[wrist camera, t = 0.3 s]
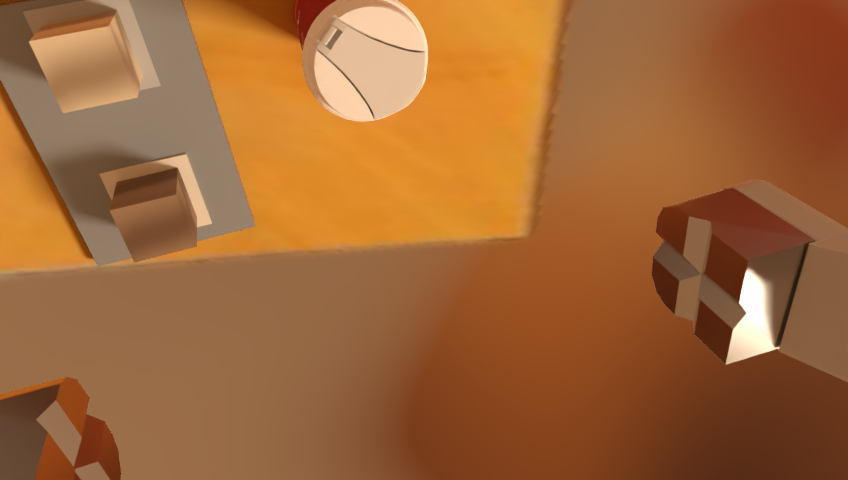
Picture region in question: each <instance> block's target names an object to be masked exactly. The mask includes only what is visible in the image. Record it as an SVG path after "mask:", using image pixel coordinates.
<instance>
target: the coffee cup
mask: <svg viewBox="0 0 848 480" xmlns="http://www.w3.org/2000/svg"><path fill="white" fill-rule="evenodd" d="M294 15H295V23H296V28H297V32H298V36H299V40H300V43H301V47H302V50H303V52H302V64H303V72H304V76H305V79H306V82H307V84H308V86H309V89H310V91H311V92H312V94H313V95H314V97H315V98H316V99H317V100H318V102H319V103H320V104H321V105H322V106H323V107H325V108H326V109H327V110H329V111H330V112H332V113H333V114H335V115H337V116H339V117H342V118H345V119H348V120H353V121H375V120H378V119H381V118H385V117H387V116H389V115H391V114H394V113H396V112H398V111H400V110H402V109H404V108H405V107H407V106H408V105H409V104H410V103H411V102H412V101H413V100H414V99H415V97H416V96H417V94H418V93H419V91H420V90H421V88H422V86H423V84H424V82H425V79H426V70H427V63H428V47H427V41H426V37H425V34H424V31H423V29H422V27H421V25H420V23H419V21H418V20H417V18H416V17H415V16H414V14H413V13H412V12H411V11H410V10H409V9H408V8H407V7H406V6H405V5H403V4H402V3H400V2H399V1H397V0H296V4H295V10H294Z"/></svg>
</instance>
